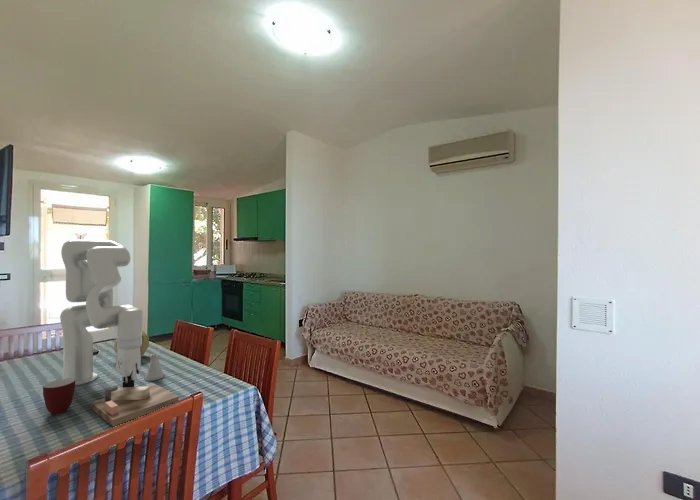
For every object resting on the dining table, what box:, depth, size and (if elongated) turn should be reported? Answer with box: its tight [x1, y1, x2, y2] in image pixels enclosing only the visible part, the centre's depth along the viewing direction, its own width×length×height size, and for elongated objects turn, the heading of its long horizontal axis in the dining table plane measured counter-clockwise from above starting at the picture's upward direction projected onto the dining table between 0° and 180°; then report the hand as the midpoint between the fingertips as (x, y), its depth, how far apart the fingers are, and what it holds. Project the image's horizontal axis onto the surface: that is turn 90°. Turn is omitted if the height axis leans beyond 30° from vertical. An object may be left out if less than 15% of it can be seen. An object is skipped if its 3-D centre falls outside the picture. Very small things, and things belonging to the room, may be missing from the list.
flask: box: [143, 353, 165, 382], centre depth 138 cm, size 7×7×10 cm
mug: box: [42, 378, 76, 416], centre depth 109 cm, size 10×8×10 cm
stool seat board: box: [90, 383, 180, 427], centre depth 114 cm, size 20×20×2 cm
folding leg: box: [104, 386, 150, 401], centre depth 114 cm, size 14×4×4 cm, turn 95°
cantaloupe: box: [113, 330, 150, 356], centre depth 164 cm, size 15×15×15 cm
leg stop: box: [105, 401, 118, 415], centre depth 105 cm, size 6×2×2 cm, turn 54°
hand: (128, 391), depth 118 cm, fingers closed
